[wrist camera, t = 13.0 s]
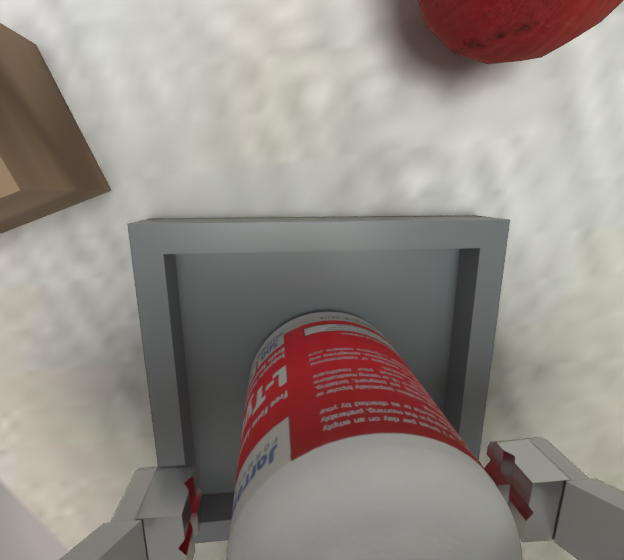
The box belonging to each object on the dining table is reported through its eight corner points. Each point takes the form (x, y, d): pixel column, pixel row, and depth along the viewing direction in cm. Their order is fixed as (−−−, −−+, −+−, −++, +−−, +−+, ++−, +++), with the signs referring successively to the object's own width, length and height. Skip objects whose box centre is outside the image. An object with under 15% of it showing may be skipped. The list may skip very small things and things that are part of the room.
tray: (447, 477, 18) (471, 515, 16) (181, 500, 17) (167, 546, 15) (476, 215, 15) (509, 219, 13) (150, 218, 14) (127, 224, 11)
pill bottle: (258, 298, 14) (214, 653, 3) (408, 315, 15) (760, 643, 4) (241, 436, 15) (169, 1002, 5) (378, 444, 16) (583, 938, 6)
